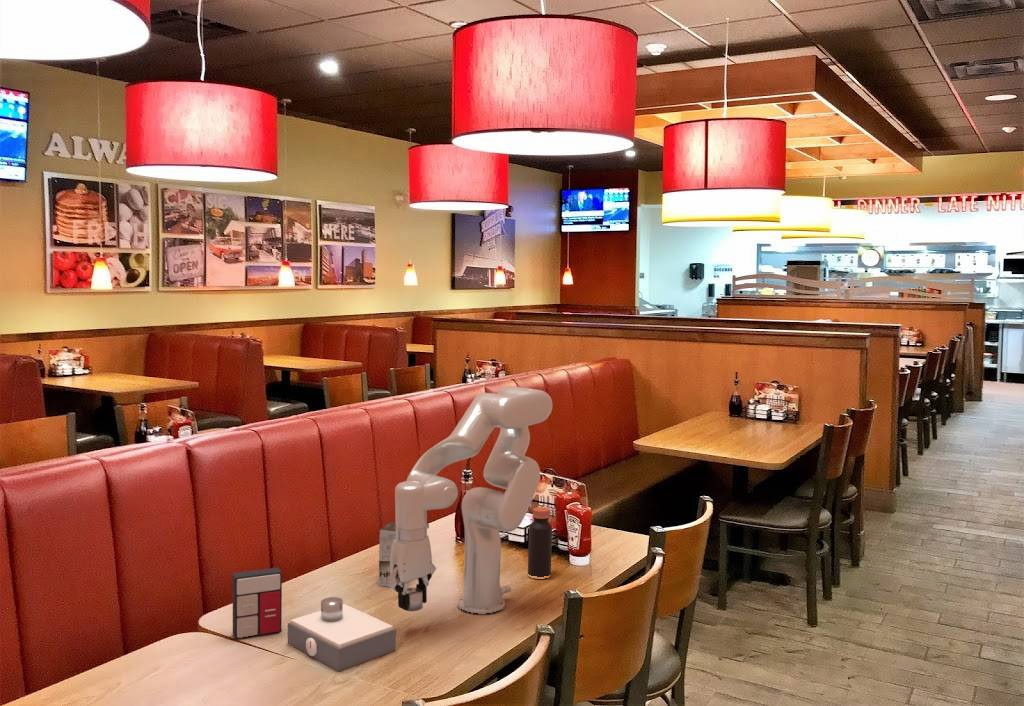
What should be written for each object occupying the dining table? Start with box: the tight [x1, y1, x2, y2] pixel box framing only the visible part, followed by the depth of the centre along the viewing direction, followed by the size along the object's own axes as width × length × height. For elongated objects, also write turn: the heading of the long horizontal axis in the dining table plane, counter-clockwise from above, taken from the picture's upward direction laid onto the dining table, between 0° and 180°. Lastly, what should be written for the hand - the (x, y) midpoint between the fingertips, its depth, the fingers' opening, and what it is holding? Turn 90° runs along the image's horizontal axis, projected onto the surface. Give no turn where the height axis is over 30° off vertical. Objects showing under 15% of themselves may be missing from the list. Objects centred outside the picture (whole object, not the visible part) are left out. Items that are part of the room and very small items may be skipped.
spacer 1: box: [320, 596, 344, 622], centre depth 205 cm, size 5×5×4 cm
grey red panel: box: [231, 567, 283, 639], centre depth 208 cm, size 11×4×15 cm, turn 117°
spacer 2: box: [405, 586, 424, 612], centre depth 213 cm, size 5×5×4 cm
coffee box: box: [378, 521, 403, 588], centre depth 247 cm, size 9×6×16 cm
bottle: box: [527, 506, 553, 577], centre depth 254 cm, size 7×7×20 cm
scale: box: [287, 603, 397, 672], centre depth 202 cm, size 17×20×6 cm
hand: (412, 604), depth 213 cm, fingers closed on spacer 2, 5 cm apart
